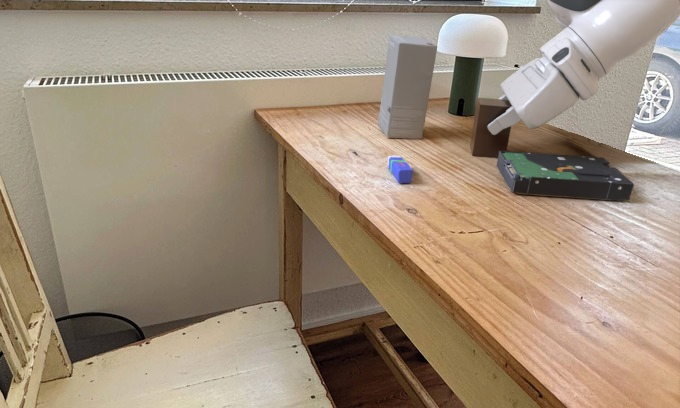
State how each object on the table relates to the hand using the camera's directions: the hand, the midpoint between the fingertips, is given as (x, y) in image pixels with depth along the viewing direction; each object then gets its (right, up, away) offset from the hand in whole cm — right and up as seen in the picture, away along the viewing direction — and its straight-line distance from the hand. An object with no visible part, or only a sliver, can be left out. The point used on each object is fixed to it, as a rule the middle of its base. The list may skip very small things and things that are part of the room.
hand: (487, 125), depth 79 cm
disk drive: (+7, -10, -10) cm, 15 cm away
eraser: (-15, -9, -9) cm, 20 cm away
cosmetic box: (-12, 0, +10) cm, 16 cm away
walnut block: (0, -4, +2) cm, 4 cm away
